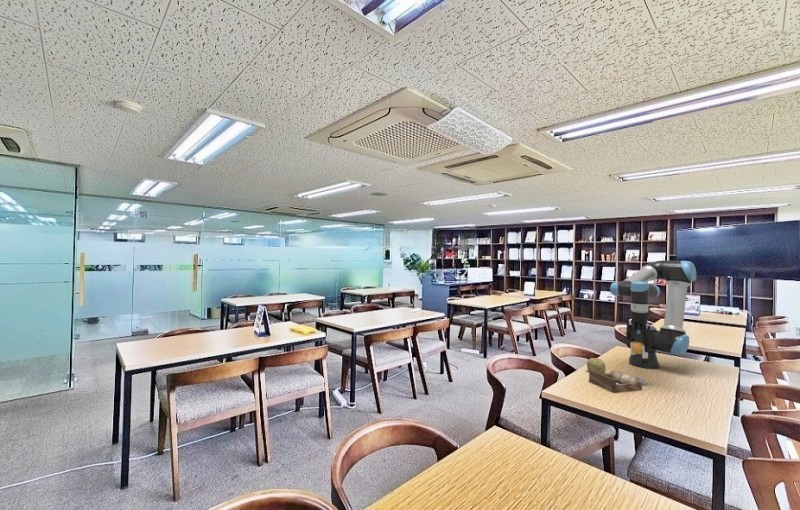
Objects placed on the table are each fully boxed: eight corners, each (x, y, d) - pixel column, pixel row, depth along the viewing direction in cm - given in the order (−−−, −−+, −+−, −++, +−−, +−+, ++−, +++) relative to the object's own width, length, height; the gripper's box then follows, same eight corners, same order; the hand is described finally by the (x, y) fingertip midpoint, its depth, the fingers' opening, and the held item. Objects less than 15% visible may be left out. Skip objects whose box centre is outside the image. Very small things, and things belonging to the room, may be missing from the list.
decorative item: (602, 382, 191) (613, 367, 191) (588, 371, 191) (599, 356, 191) (593, 376, 200) (603, 362, 200) (579, 365, 200) (590, 352, 200)
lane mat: (615, 379, 185) (615, 378, 185) (642, 389, 170) (642, 389, 170) (589, 381, 180) (589, 380, 180) (614, 392, 166) (614, 391, 166)
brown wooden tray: (615, 379, 185) (615, 367, 185) (642, 389, 170) (642, 377, 170) (589, 381, 180) (589, 370, 180) (614, 392, 166) (614, 380, 166)
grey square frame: (637, 381, 181) (637, 376, 181) (644, 384, 178) (644, 379, 178) (632, 382, 180) (632, 377, 180) (638, 384, 177) (638, 379, 177)
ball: (638, 352, 183) (638, 340, 183) (649, 355, 177) (649, 343, 177) (629, 352, 181) (629, 341, 181) (639, 356, 176) (639, 344, 176)
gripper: (617, 308, 187) (617, 351, 188) (651, 315, 169) (650, 362, 169) (628, 308, 189) (628, 350, 189) (663, 314, 171) (662, 361, 171)
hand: (639, 356), depth 179 cm, fingers closed on ball, 6 cm apart
